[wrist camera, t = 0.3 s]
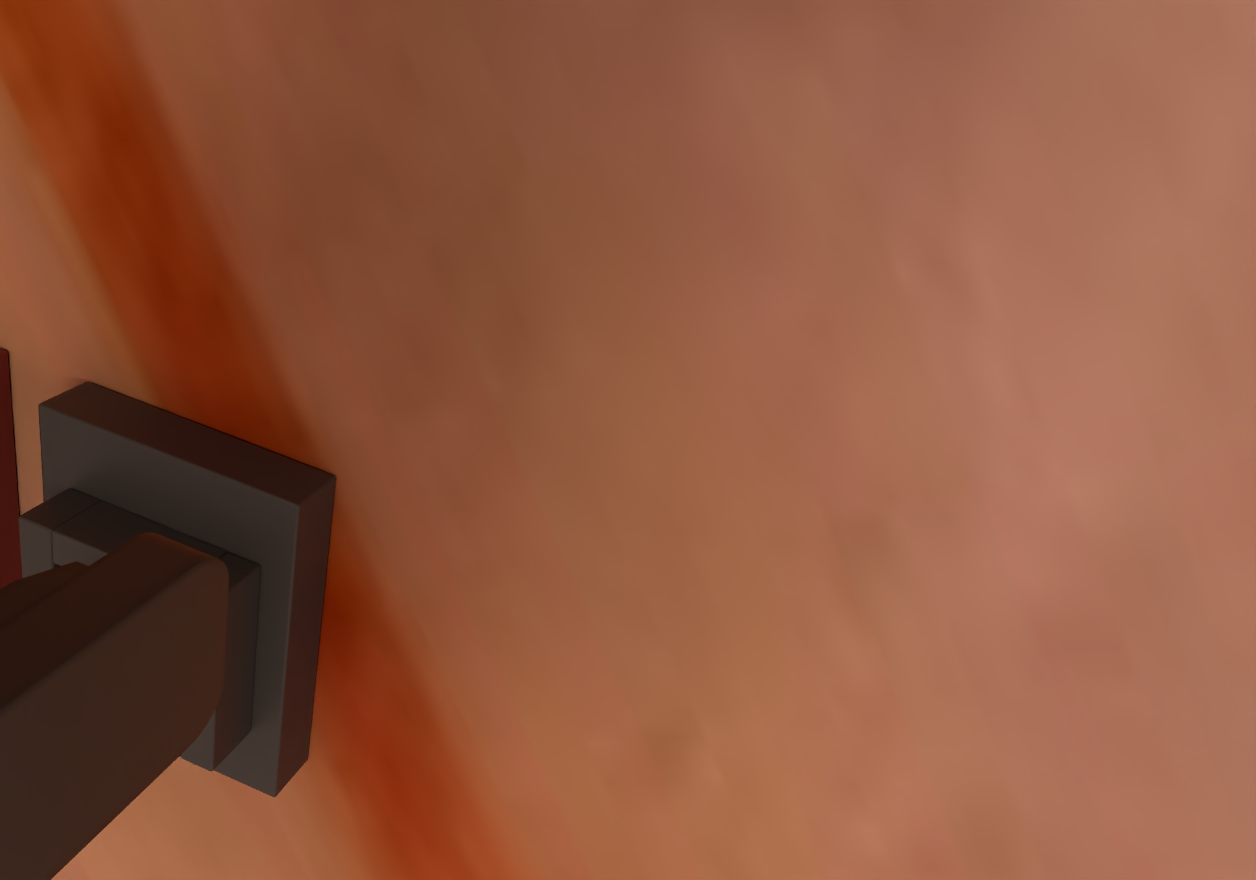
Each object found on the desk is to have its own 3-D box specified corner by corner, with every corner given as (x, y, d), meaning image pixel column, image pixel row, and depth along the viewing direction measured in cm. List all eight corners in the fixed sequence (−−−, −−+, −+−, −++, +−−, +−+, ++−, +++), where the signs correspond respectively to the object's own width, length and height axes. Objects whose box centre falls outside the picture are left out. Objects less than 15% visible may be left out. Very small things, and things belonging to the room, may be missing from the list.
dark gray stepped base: (87, 379, 33) (-20, 429, 30) (337, 475, 31) (255, 539, 28) (95, 666, 39) (7, 736, 35) (308, 759, 37) (237, 842, 34)
